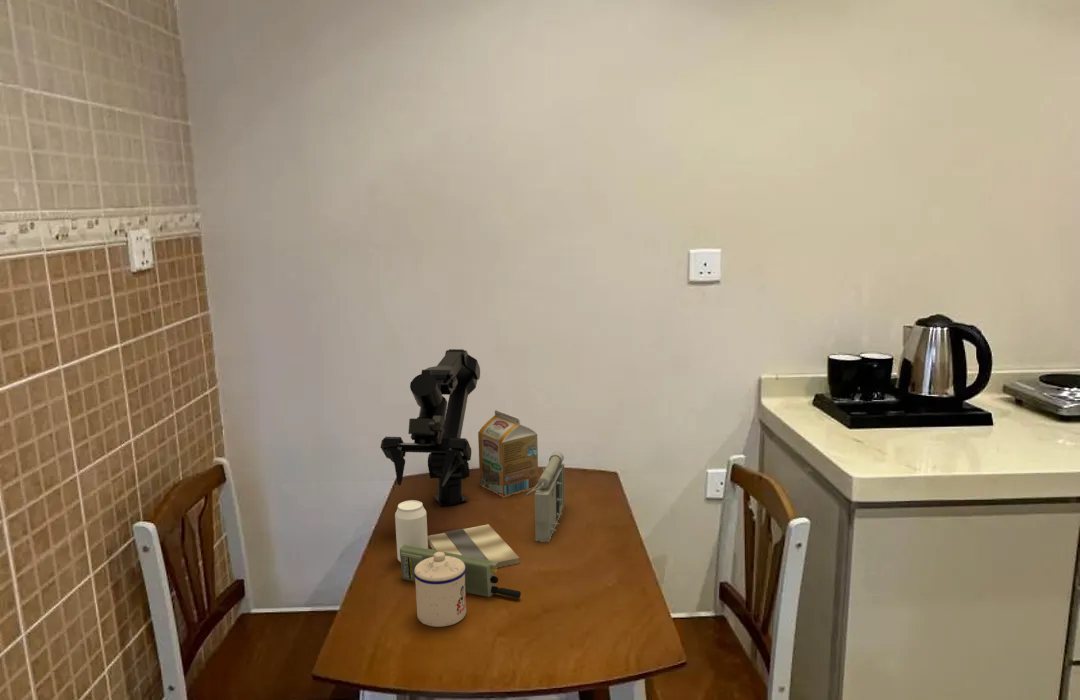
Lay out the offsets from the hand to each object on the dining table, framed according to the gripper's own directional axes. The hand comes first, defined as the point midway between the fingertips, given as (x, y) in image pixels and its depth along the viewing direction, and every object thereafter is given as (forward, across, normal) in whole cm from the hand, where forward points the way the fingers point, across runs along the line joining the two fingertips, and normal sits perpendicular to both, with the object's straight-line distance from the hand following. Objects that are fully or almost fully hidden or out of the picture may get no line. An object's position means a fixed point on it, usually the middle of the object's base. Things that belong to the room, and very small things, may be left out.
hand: (420, 485), depth 168 cm
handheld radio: (+22, +12, -3) cm, 25 cm away
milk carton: (-15, +13, +34) cm, 39 cm away
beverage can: (+15, 0, +4) cm, 15 cm away
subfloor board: (+11, +11, +7) cm, 17 cm away
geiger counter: (-2, +25, +21) cm, 33 cm away
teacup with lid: (+28, +11, -9) cm, 31 cm away
